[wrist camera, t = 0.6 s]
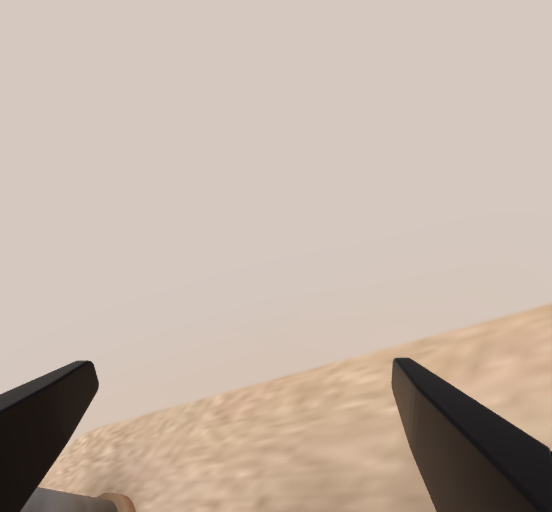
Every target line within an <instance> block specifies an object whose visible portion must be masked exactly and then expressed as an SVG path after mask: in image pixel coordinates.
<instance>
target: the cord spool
mask: <svg viewBox="0 0 552 512" xmlns="http://www.w3.org/2000/svg"><path fill="white" fill-rule="evenodd" d="M21 512H135V509H134V506H133V503H132V502H131V500H130V499H129V498H128V497H126V496H124V495H119V494H114V493H105V494H102V495H100V496H98V497H97V498H93V497H88V496H82V495H77V494H72V493H66V492H61V491H55V490H50V489H45V488H39V487H37V488H36V490H35V491H34V493H33V494H32V496H31V497H30V498H29V500H28V501H27V503H26V504H25V506H24V507H23V509H22V510H21Z"/></svg>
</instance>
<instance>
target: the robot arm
mask: <svg viewBox="0 0 552 512" xmlns="http://www.w3.org/2000/svg"><path fill="white" fill-rule="evenodd" d="M98 387H99V382H98V378H97V375H96V371H95V367H94V364H93V363H92V362H91V361H75V362H73V363H71V364H68V365H66V366H64V367H62V368H59V369H57V370H55V371H52V372H51V373H48V374H46V375H44V376H42V377H39V378H37V379H35V380H32V381H30V382H28V383H26V384H23V385H21V386H19V387H16V388H14V389H12V390H10V391H7V392H5V393H3V394H0V512H21V510H22V509H23V507H24V506H25V504H26V503H27V501H28V500H29V498H30V497H31V496H32V494H33V493H34V491H35V490H36V488H37V487H38V485H39V484H40V482H41V481H42V480H43V478H44V477H45V475H46V474H47V472H48V471H49V469H50V468H51V466H52V465H53V463H54V462H55V461H56V459H57V458H58V456H59V455H60V453H61V452H62V450H63V449H64V447H65V446H66V444H67V443H68V441H69V439H70V438H71V436H72V434H73V433H74V431H75V429H76V427H77V426H78V424H79V422H80V420H81V419H82V417H83V415H84V413H85V412H86V410H87V408H88V406H89V405H90V403H91V401H92V399H93V398H94V396H95V394H96V392H97V390H98ZM392 390H393V394H394V397H395V400H396V404H397V407H398V410H399V413H400V417H401V420H402V423H403V427H404V430H405V433H406V436H407V440H408V443H409V446H410V449H411V451H412V454H413V456H414V459H415V461H416V464H417V466H418V468H419V471H420V473H421V475H422V478H423V480H424V483H425V485H426V487H427V490H428V492H429V495H430V497H431V499H432V502H433V504H434V506H435V509H436V511H437V512H552V451H550V449H549V447H547V446H545V445H544V444H542V443H541V442H539V441H538V440H536V439H535V438H533V437H532V436H530V435H528V434H527V433H525V432H524V431H522V430H521V429H519V428H518V427H516V426H514V425H513V424H511V423H510V422H508V421H507V420H505V419H504V418H502V417H500V416H499V415H497V414H496V413H494V412H493V411H491V410H490V409H488V408H487V407H485V406H483V405H482V404H480V403H479V402H477V401H476V400H474V399H473V398H471V397H469V396H468V395H466V394H465V393H463V392H462V391H460V390H459V389H457V388H455V387H454V386H452V385H451V384H449V383H448V382H446V381H445V380H443V379H442V378H440V377H438V376H437V375H435V374H434V373H432V372H431V371H429V370H428V369H426V368H424V367H423V366H421V365H420V364H418V363H417V362H415V361H414V360H412V359H410V358H395V359H394V360H393V368H392Z"/></svg>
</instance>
